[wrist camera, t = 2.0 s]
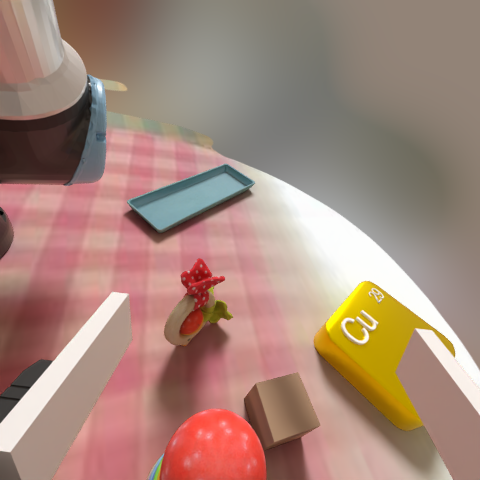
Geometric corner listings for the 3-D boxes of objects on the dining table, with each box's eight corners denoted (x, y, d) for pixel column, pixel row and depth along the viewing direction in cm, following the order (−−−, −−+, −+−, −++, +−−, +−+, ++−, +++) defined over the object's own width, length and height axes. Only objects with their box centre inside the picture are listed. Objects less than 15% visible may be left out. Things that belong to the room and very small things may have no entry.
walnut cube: (258, 452, 28) (274, 442, 25) (243, 399, 31) (255, 383, 28) (300, 437, 30) (320, 425, 26) (282, 388, 33) (298, 372, 30)
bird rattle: (200, 364, 35) (242, 305, 38) (183, 358, 25) (242, 279, 28) (163, 334, 36) (206, 280, 40) (134, 317, 26) (194, 247, 30)
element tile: (407, 440, 32) (437, 430, 29) (306, 344, 38) (321, 327, 35) (437, 358, 42) (462, 344, 39) (352, 291, 48) (367, 274, 44)
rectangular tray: (159, 239, 46) (159, 228, 44) (125, 210, 49) (125, 198, 47) (253, 191, 63) (256, 182, 61) (224, 172, 66) (226, 162, 64)
